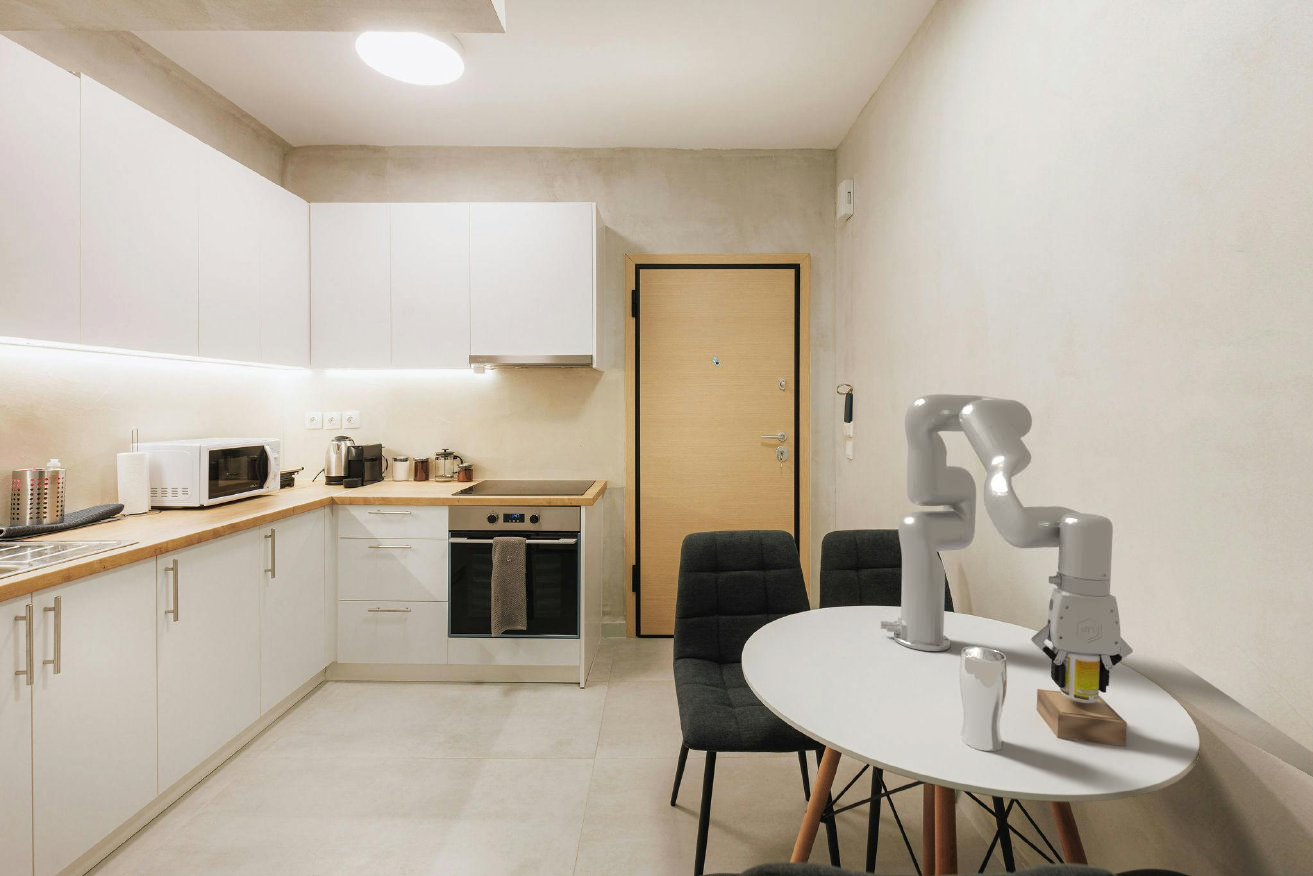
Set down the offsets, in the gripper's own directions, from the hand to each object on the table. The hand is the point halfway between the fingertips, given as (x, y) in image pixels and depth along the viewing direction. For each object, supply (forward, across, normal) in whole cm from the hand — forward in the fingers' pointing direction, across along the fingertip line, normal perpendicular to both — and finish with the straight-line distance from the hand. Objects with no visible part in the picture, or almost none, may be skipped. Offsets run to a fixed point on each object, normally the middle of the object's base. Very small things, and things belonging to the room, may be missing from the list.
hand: (1079, 685), depth 106 cm
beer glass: (+8, -18, -10) cm, 22 cm away
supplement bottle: (+2, 0, 0) cm, 2 cm away
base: (+7, 0, 0) cm, 7 cm away
